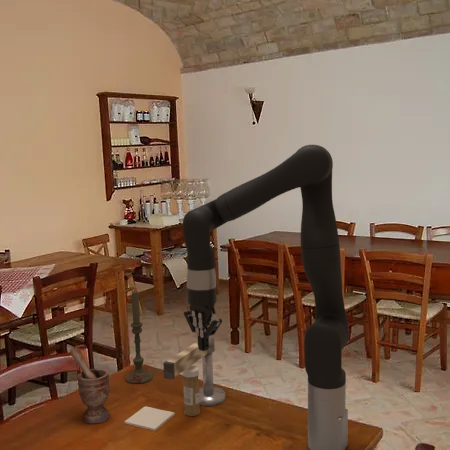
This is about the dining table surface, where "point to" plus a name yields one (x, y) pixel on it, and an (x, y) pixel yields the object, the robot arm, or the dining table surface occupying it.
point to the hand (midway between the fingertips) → (203, 349)
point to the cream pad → (149, 418)
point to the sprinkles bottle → (191, 391)
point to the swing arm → (186, 359)
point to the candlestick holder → (137, 346)
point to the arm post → (209, 385)
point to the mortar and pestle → (92, 389)
